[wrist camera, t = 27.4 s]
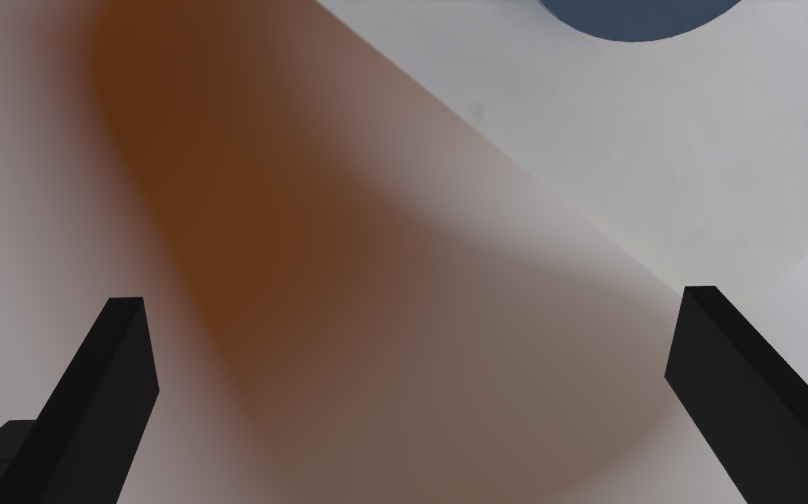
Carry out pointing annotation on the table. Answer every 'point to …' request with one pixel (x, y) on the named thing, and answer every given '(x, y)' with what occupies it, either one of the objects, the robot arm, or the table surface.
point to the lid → (636, 16)
